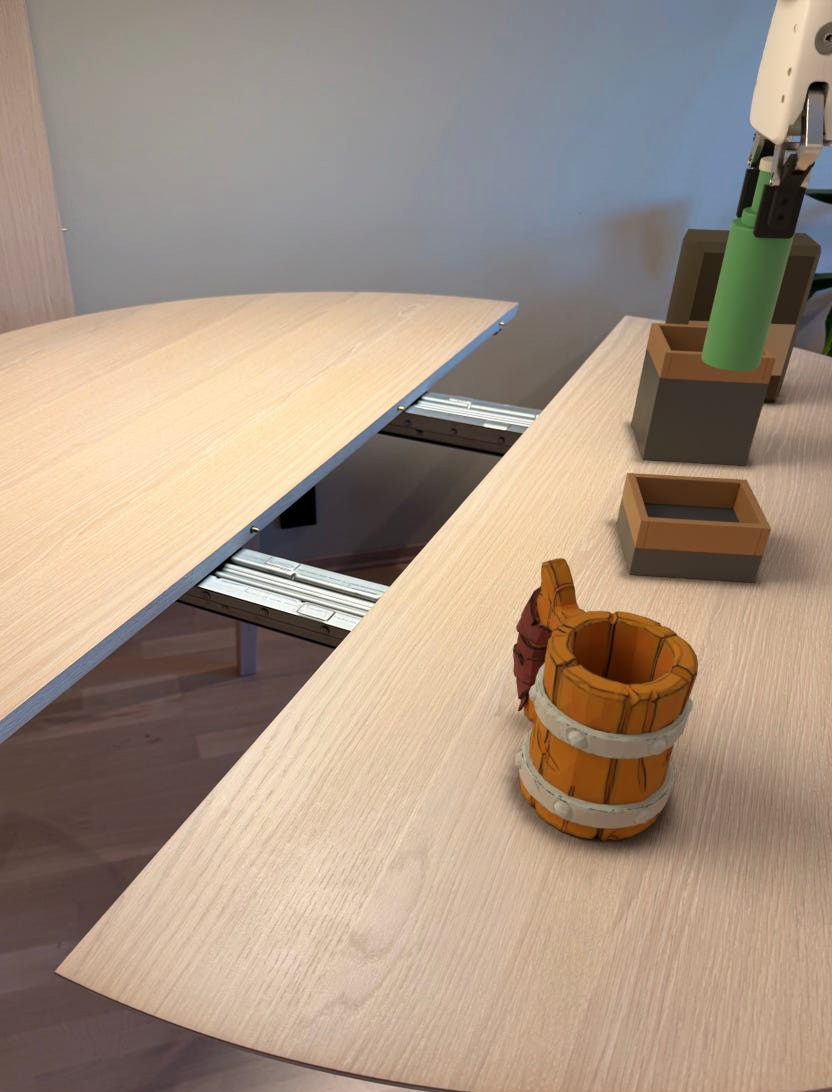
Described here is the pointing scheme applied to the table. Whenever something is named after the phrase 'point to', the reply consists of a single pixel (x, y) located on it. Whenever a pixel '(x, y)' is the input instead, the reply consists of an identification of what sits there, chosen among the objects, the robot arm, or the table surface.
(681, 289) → the dark boxy piece
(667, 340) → the grey storage bin
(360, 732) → the table surface
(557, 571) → the mug
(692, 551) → the shallow open tray
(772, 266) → the green bottle
